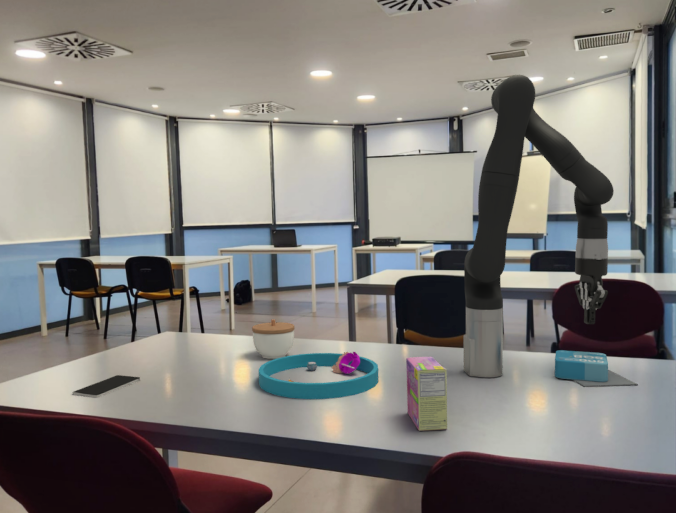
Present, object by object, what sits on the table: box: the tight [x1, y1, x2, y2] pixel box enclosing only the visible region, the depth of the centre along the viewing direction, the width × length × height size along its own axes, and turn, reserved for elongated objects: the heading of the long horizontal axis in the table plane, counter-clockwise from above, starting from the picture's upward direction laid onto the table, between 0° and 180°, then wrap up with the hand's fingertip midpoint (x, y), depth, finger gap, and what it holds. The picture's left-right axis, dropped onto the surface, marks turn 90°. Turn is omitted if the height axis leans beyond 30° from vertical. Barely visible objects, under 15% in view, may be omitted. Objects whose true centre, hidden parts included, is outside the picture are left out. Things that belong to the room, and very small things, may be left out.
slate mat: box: [572, 369, 638, 388], centre depth 138 cm, size 13×14×1 cm
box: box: [405, 356, 448, 432], centre depth 110 cm, size 10×6×12 cm, turn 5°
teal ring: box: [258, 351, 379, 400], centre depth 140 cm, size 30×30×6 cm
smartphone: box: [71, 374, 141, 399], centre depth 137 cm, size 8×1×15 cm
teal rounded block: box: [554, 349, 609, 382], centre depth 141 cm, size 12×4×12 cm
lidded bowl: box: [251, 318, 296, 360], centre depth 166 cm, size 13×13×11 cm
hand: (589, 323), depth 143 cm, fingers closed
